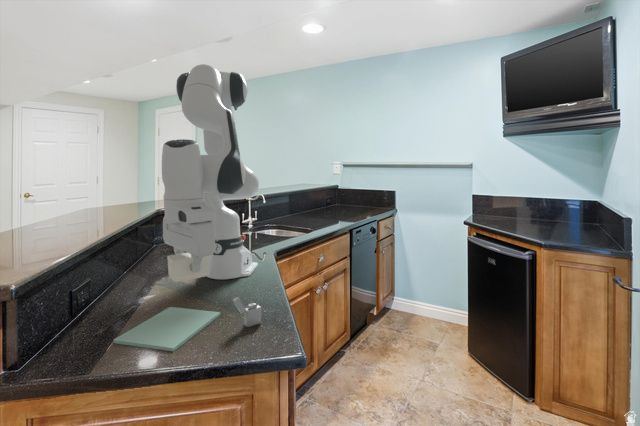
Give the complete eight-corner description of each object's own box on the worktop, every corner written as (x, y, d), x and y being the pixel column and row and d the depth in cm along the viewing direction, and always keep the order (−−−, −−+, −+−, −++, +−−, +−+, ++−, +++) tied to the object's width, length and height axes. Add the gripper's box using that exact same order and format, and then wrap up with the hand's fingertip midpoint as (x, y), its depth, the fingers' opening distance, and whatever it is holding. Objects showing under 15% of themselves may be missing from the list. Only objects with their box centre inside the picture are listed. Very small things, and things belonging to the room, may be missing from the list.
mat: (169, 309, 103) (169, 306, 103) (220, 315, 99) (220, 312, 99) (113, 343, 84) (113, 339, 84) (173, 351, 80) (173, 348, 80)
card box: (168, 276, 87) (167, 255, 86) (202, 269, 91) (201, 250, 90) (174, 282, 82) (173, 260, 81) (209, 275, 87) (208, 255, 86)
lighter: (258, 320, 95) (257, 291, 94) (261, 322, 94) (260, 293, 93) (233, 328, 91) (232, 297, 90) (236, 330, 90) (235, 299, 89)
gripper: (154, 207, 89) (158, 261, 92) (191, 216, 75) (195, 281, 77) (179, 205, 94) (182, 257, 96) (219, 213, 79) (222, 274, 82)
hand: (188, 267), depth 86 cm, fingers closed on card box, 6 cm apart
